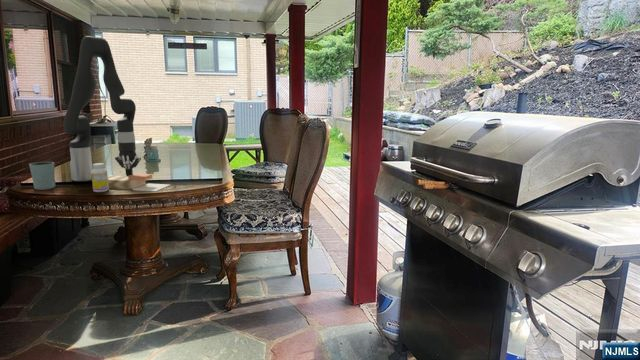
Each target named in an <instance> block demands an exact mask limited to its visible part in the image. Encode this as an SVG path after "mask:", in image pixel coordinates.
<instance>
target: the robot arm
mask: <svg viewBox="0 0 640 360" xmlns="http://www.w3.org/2000/svg"><path fill="white" fill-rule="evenodd" d="M93 58H100V59H101V61H102V63H103V67H104V69H103V74H102V78H103V79H102V81H103V83H104V86H105V88H106V90H107V92H108V94H109V101H110V107H111V110H112V111H113V113H114V114H117V115H123V117H122V118H120V119H118V120H117V121H116V127H117V143H118V144H117V147H118V152H119V154H118V155H117V157H114V159H115V160H116V161H115V162H117V163H118V165H119V166H120V167H121V168H122V169H123V168H124V169H125V176H127V177H128V176H129V175H133V174H134V173H133V172H134V171H133V169H134V168H136V167H137V166H138V165H139V163H140V162H141V160H142V157H139V156H138V155H137V153H136V151H137V149H136V137H135V131H134V121H135V116H136V107H137V106H136V104H135V102H134V100H132V99H131V98H121V97H122V96H124V94H125V93H126V92H125V88H124V85H123V83H122V81H121V79H120V77H119V74H118V72H117V69H116V65H115V61H114V57H113V54H112V50H111V47H110V45H109V42H108V41H107V40H106V39H105V38H103V37H97V36H91V35H86V36H84V37H82V40H81V42H80V46H79V55H78V63H77V69H76V75H75V79H74V83H73V85H72V92H71V95H70V96H71V97H70V99H69V100H70V101H69V104H68V108H67V109H66V113H65V116H64V118H63V125H62V127H63V130H64V132H65V133H66V134H68V135H76V136H75V138H74V139H72V140H70V141H69V143H68V144H69V152H70V153H69V154H70V162H69V167H70V176H71V179H70V180H71V181H74V182H87V181H92V175H91V171H92V170H93V163H92V153H91V141H92V139H91V138H92V137H91V123H90V120H89V118H88V117H87V116H85V115H80V114H81V112H82V111H83V109H84V108H85V107H86V106H87V105H88V103H90V102H91V100H92V98H93V97H94V95H95V92H96V91H95V90H96V86H97V81H96V78H95V75H94V73H93V71H92V60H93Z"/></svg>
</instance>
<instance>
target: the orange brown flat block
mask: <svg viewBox="0 0 640 360" xmlns="http://www.w3.org/2000/svg"><path fill="white" fill-rule="evenodd" d="M151 179H153V174H150V173H149V174H148V173H133V175H129V176H128V180H140V181H145V182H146V181H148V180H151Z"/></svg>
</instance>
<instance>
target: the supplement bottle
mask: <svg viewBox="0 0 640 360" xmlns="http://www.w3.org/2000/svg"><path fill="white" fill-rule="evenodd" d="M91 175H92V180H91V182H92V183H91V185H92V191H93V192H94V193H103V192H104V193H105V192H107V191H109V190H110V188H109V185H108V170H107V168H105V163H102V162H99V163H96V162H95V163H92V171H91Z"/></svg>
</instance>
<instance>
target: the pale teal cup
mask: <svg viewBox="0 0 640 360" xmlns="http://www.w3.org/2000/svg"><path fill="white" fill-rule="evenodd" d="M29 170H30V174H31V178H32V182H33V183H32V184H33V188H34V190H37V191H41V190H50V189H54V188H56V180H55V177H56V176H55V171H56V170H55V162H54V161H39V162H38V161H36V162H31V163H29Z"/></svg>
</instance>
